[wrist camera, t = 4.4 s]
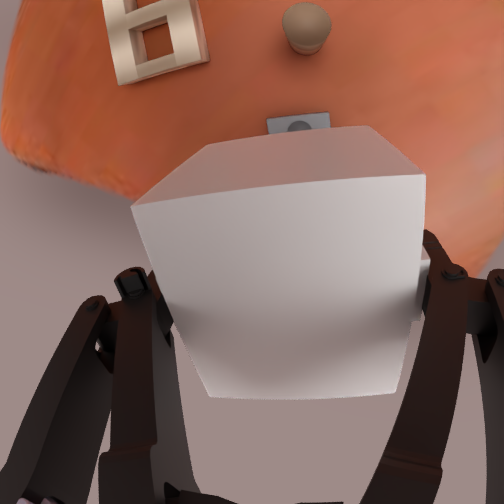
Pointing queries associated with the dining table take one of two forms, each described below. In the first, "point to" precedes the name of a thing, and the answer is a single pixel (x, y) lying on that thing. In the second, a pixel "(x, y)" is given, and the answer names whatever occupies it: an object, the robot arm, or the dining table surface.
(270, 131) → the board
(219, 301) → the white cube block
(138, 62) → the socket board
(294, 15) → the peg
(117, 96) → the dining table surface
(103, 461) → the robot arm
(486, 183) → the dining table surface
